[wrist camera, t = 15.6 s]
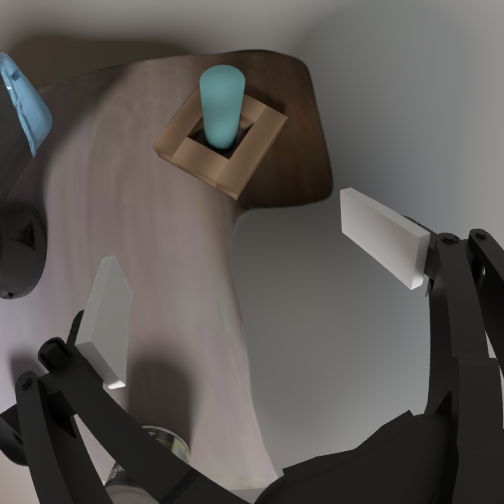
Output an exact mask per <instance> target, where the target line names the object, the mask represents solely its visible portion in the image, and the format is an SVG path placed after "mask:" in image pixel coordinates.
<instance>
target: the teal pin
mask: <svg viewBox="0 0 504 504" xmlns="http://www.w3.org/2000/svg"><path fill="white" fill-rule="evenodd" d="M244 87H245V77H244V75H243V74H242V72H241V71H240V70H238V69H237V68H235V67H233V66H229V65H217V66H213V67H211V68H209V69H207V70H206V71H205V72H204V73H203V74H202V76H201V78H200V92H201V102H202V112H203V121H204V130H205V139H206V145H207V147H208V148H209V149H210V150H212V151H214V152H216V153H218V154H225V153H228V152H230V151H231V150H232V149H233V148H234V147H235V144H236V139H237V132H238V126H239V119H240V112H241V106H242V100H243V93H244Z"/></svg>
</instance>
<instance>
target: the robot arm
mask: <svg viewBox="0 0 504 504" xmlns="http://www.w3.org/2000/svg"><path fill="white" fill-rule="evenodd" d="M51 127H52V115H51V113H50V111H49V109H48V107H47V106H46V104H45V103H44V101H43V100H42V98H41V97H40V96H39V94H38V93H37V91H36V90H35V89H34V87H33V86H32V85H31V83H30V82H29V81H28V79H27V78H26V77H25V76H24V75H23V74H21V71H20V70H19V69H18V67H17V66H16V64H15V63H14V62H13V60H12V59H11V58H10V57H9V56H8V55H7V54H5V53H3V52H1V53H0V298H3V299H16V298H21V297H23V296H26V295H27V294H29V293H30V292H31V291H32V290H33V289H34V288H35V286H36V285H37V283H38V281H39V279H40V277H41V274H42V272H43V268H44V264H45V258H46V237H45V231H44V227H43V224H42V221H41V219H40V216H39V215H38V213H37V211H36V210H35V209H34V208H33V207H32V206H31V205H30V204H28V203H27V202H25V201H21V200H18V199H14V198H7V199H6V197H7V195H8V193H9V192H10V190H11V188H12V187H13V185H14V183H15V182H16V180H17V179H18V177H19V175H20V174H21V172H22V171H23V169H24V168H25V166H26V165H27V163H28V162H29V160H30V159H31V158H34V157H35V155H36V151H37V149H38V148H39V146H40V145H41V143H42V142H43V141H44V139H45V138H46V136H47V135H48V134H49V132H50V130H51ZM340 197H341V218H342V232H343V233H344V234H345V235H347V236H348V237H349V238H351V239H352V240H353V241H354V242H355V243H357V244H358V245H359V246H360V247H362V248H363V249H364V250H365V251H366V252H368V253H369V254H370V255H372V256H373V257H374V258H375V259H376V260H377V261H378V262H380V263H381V264H382V265H383V266H384V267H385V268H387V269H388V270H389V271H390V272H391V273H392V274H394V275H395V276H396V277H397V278H398V279H399V280H401V281H402V282H403V283H404V284H405V285H406V286H407V287H408V288H409V289H411V290H412V289H414V288H416V287H418V286H420V285H421V284H422V282H423V277H424V274H426V275H427V276H428V277H429V281H428V286H427V290H426V295H425V297H427V296H428V293H429V307H430V338H431V339H430V376H429V392H428V401H427V406H426V409H425V412H424V414H419V415H415V416H413V415H412V413H411V412H410V410H408V411H407V412H405V413H403V414H402V415H400V416H398V417H397V418H395V419H393V420H392V421H390V422H388V423H386V424H384V425H383V426H381V427H380V428H379V429H378V430H377V431H376V432H375V433H374V434H373V435H372V436H370V437H369V438H368V439H367V440H366V441H364V442H363V443H362V444H361V445H359V446H358V447H357V448H355V449H353V450H349V451H344V452H340V453H335V454H329V455H324V456H318V457H315V458H312V459H309V460H307V461H304V462H301V463H299V464H296V465H293V466H290V467H287V468H284V469H282V470H283V473H284V475H285V476H282V477H280V478H279V479H277V480H276V481H274V482H273V483H272V484H270V485H269V486H268V487H267V488H266V489H265V490H264V491H263V492H262V493H261V494H260V496H259V497H258V498H257V500H256V501H255V503H254V504H504V429H503V401H502V387H501V377H500V368H501V371H502V374H503V377H504V250H503V249H502V248H501V247H500V245H499V244H498V243H497V242H496V241H495V239H494V238H493V237H492V236H491V235H490V234H489V233H488V232H486V231H484V230H483V229H482V230H481V229H472V230H470V233H469V238H468V239H464V240H460V238H459V237H457V236H456V235H453V234H451V233H440V234H436V233H434V232H433V231H431V230H429V229H428V228H426V227H424V226H423V225H421V224H419V223H418V222H416V221H414V220H413V219H411V218H409V217H407V216H403V215H400V214H398V213H396V212H395V211H393V210H391V209H389V208H387V207H386V206H384V205H382V204H380V203H378V202H377V201H375V200H373V199H371V198H369V197H367V196H366V195H364V194H362V193H360V192H358V191H356V190H354V189H352V188H348V189H344V190H340ZM484 268H485V275H484V274H483V272H484ZM132 302H133V292H132V290H131V288H130V286H129V284H128V282H127V280H126V278H125V276H124V273H123V271H122V269H121V267H120V265H119V263H118V260H117V258H116V256H115V254H113V255H110V256H107V257H104V258H102V261H101V264H100V266H99V269H98V272H97V275H96V277H95V280H94V283H93V286H92V289H91V292H90V295H89V298H88V301H87V304H86V307H85V310H82V311H79V313H78V314H77V315H76V317H75V318H74V320H73V323H72V328H71V330H70V335H69V336H68V340H67V343H66V344H65V342H64V341H63V340H62V339H61V338H59V337H54V338H51V339H49V340H48V341H46V342H45V343H44V344H43V345H42V346H41V348H40V350H39V352H38V360H39V361H40V362H41V363H42V364H43V365H44V367H45V368H46V369H47V370H48V371H49V373H47V374H45V375H43V376H41V377H40V378H39V377H38V376H37V375H36V374H35V373H34V372H32V371H28V372H26V373H24V374H23V375H21V376H20V378H19V379H18V381H17V383H16V387H15V392H16V402H17V410H18V417H19V423H20V429H21V435H22V440H23V445H24V450H25V454H26V458H27V462H28V466H29V469H30V474H31V477H32V481H33V484H34V487H35V490H36V493H37V496H38V499H39V502H40V504H114V503H113V502H112V500H111V498H110V496H109V495H108V493H107V491H106V489H105V487H104V485H103V484H102V481H101V479H100V477H99V475H98V473H97V471H96V469H95V467H94V465H93V463H92V461H91V458H90V456H89V454H88V452H87V449H86V447H85V445H84V442H83V440H82V437H81V435H80V432H79V430H78V427H77V424H76V421H75V419H74V416H73V415H75V414H78V416H79V417H80V418H81V420H82V421H83V422H84V424H85V425H86V426H87V428H88V429H89V430H90V432H91V433H92V434H93V435H94V437H95V438H96V439H97V440H98V441H99V443H100V444H101V445H102V446H103V447H104V448H105V450H106V451H107V452H108V453H109V454H110V455H111V456H112V458H113V459H114V460H115V461H116V462H117V463H118V464H119V465H120V466H121V467H122V468H123V469H124V470H125V471H126V472H127V473H128V475H129V476H130V477H131V478H132V479H134V480H135V481H136V482H137V483H138V484H139V485H140V486H141V487H142V488H143V489H144V490H145V491H146V492H147V493H148V494H149V495H151V496H152V497H153V498H154V499H155V500H156V501H157V502H158V503H159V504H250V503H248V502H247V501H245V500H243V499H241V498H239V497H238V496H236V495H234V494H233V493H231V492H229V491H228V490H226V489H224V488H223V487H221V486H220V485H218V484H216V483H215V482H213V481H212V480H210V479H209V478H207V477H206V476H204V475H203V474H201V473H200V472H198V471H197V470H195V469H194V468H192V467H191V466H190V465H188V464H187V463H186V462H184V461H183V460H182V459H180V458H179V457H178V456H176V455H175V454H174V453H172V452H171V451H170V450H169V449H167V448H166V447H165V446H164V445H162V444H161V443H160V442H159V441H158V440H156V439H155V438H154V437H153V436H152V435H151V434H149V433H148V432H147V431H146V430H145V429H144V428H143V427H141V426H140V425H139V424H138V423H137V422H136V421H135V420H134V419H133V418H132V417H131V416H130V415H129V414H128V413H126V412H125V411H124V410H123V409H122V408H121V407H120V406H119V405H118V404H117V403H116V402H115V401H114V400H113V399H112V398H111V397H110V395H109V394H108V393H107V392H106V391H105V390H104V389H103V381H104V382H105V384H106V385H107V386H108V387H109V388H110V389H114V388H119V387H124V386H126V368H127V353H128V340H129V329H130V319H131V310H132ZM485 331H486V333H487V335H488V337H489V340H490V342H491V345H492V347H493V350H494V352H495V355H496V358H497V359H496V358H489V354H488V346H487V340H486V334H485ZM499 366H500V368H499Z"/></svg>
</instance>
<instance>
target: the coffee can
mask: <svg viewBox="0 0 504 504" xmlns="http://www.w3.org/2000/svg"><path fill="white" fill-rule="evenodd" d="M141 427H143V428H144V429H145V430H146V431H147V432H148V433H149V434H151V435H152V436H153V437H154V438H155V439H156V440H158V441H159V442H160V443H161V444H162V445H164V446H165V447H166V448H167V449H169V450H170V451H171V452H172V453H174V454H175V455H176V456H178V457H179V458H180V459H182V460H183V461H184V462H186V463H187V464H188V465H189V460H190V450H189V448H188V446H187V444H186V443H185V441H184V440H183V439H182V438H181V437H179V436H178V435H177V434H176V433H174V432H172V431H170V430H168V429H165V428H162V427H158V426H152V425H148V426H141ZM104 487H105V489H106V491H107V493H108V495H109V496H110V498H111V500H112V502H113V503H114V504H159V503H158V502H157V501H156V500H155V499H154V498H153V497H152V496H151V495H149V494H148V493H147V492H146V491H145V490H144V489H143V488H142V487H141V486H140V485H139V484H138V483H137V482H136V481H135V480H134V479H132V478H131V477H130V476H129V475H128V473H127V472H126V471H125V470H124V469H123V468H122V467H121V466H120V465H119V464H118V463H117V462H115V465H114V467H113V469H112V471H111V473H110V475H109V477H108V479H107V481H106V483H105V486H104Z"/></svg>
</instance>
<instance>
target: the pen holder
mask: <svg viewBox="0 0 504 504" xmlns="http://www.w3.org/2000/svg"><path fill="white" fill-rule="evenodd" d="M0 450H1V451H2V452H3V453H4V455H5V456H6V457H7V458H8V459H10V460H11V461H12V462H14V463H16V464H18V465H22V466H28V462H27V458H26V454H25V450H24V445H23V440H22V435H21V429H20V423H19V417H18V410H17V404H15V405H14V406H12V407H10V408H9V409H7V410H6V411H4V412H3V413H1V414H0ZM28 467H29V466H28Z"/></svg>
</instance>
